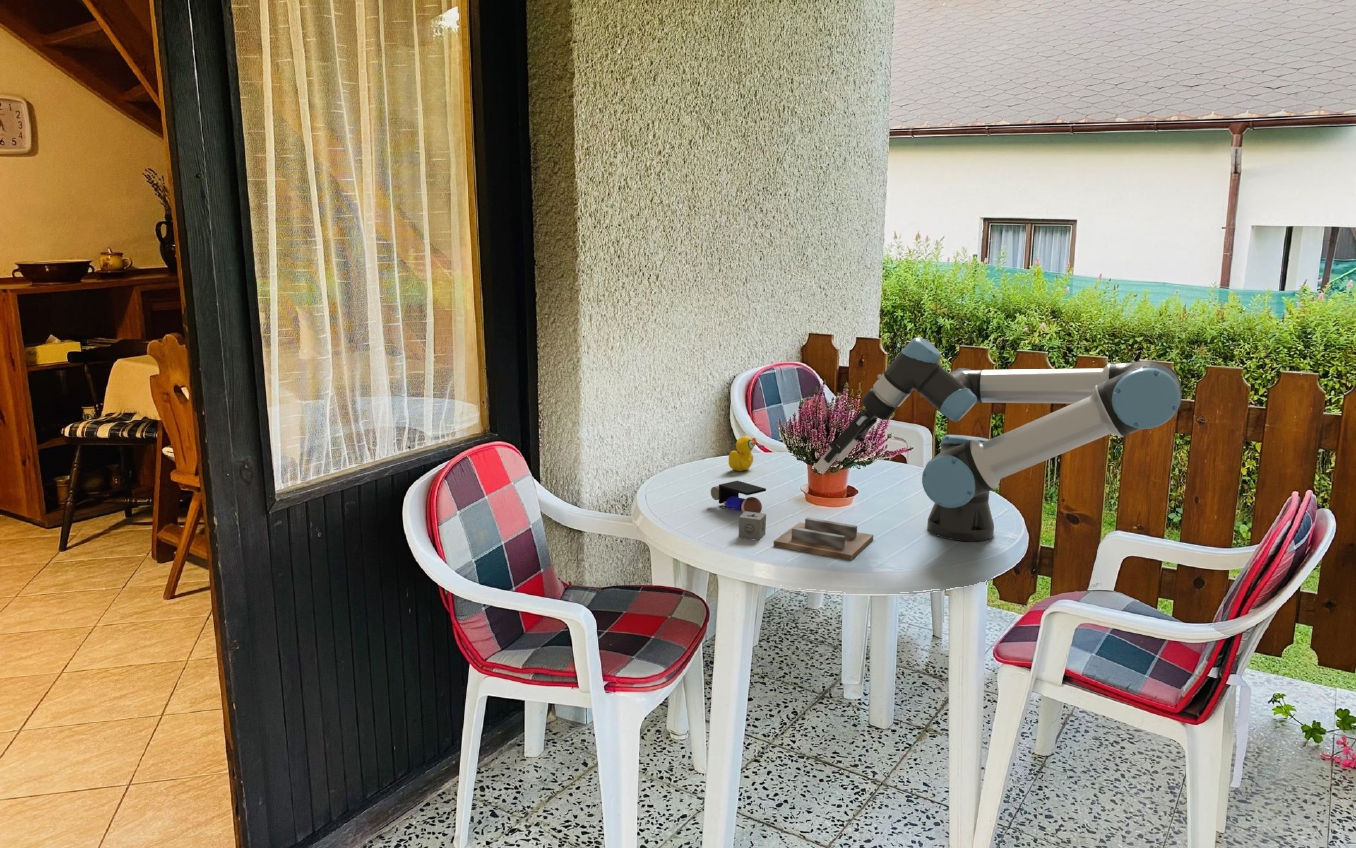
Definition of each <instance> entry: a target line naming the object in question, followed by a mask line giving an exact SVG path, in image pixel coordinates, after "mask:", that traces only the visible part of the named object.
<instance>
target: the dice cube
mask: <svg viewBox="0 0 1356 848" xmlns="http://www.w3.org/2000/svg"><path fill="white" fill-rule="evenodd" d="M766 526H767V513H763V512H760V513H756V512H748V511H745V512H744V513H743V512H742V514H741V515H740V516H739V517H738V538H739V539H744V538H745V540H751V539H755V540H754V541H759V540H760V539H761V540H762V539H763V538H764V537H765V535H766V532H767V531H766V528H767V527H766ZM761 540H760V541H761Z"/></svg>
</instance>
